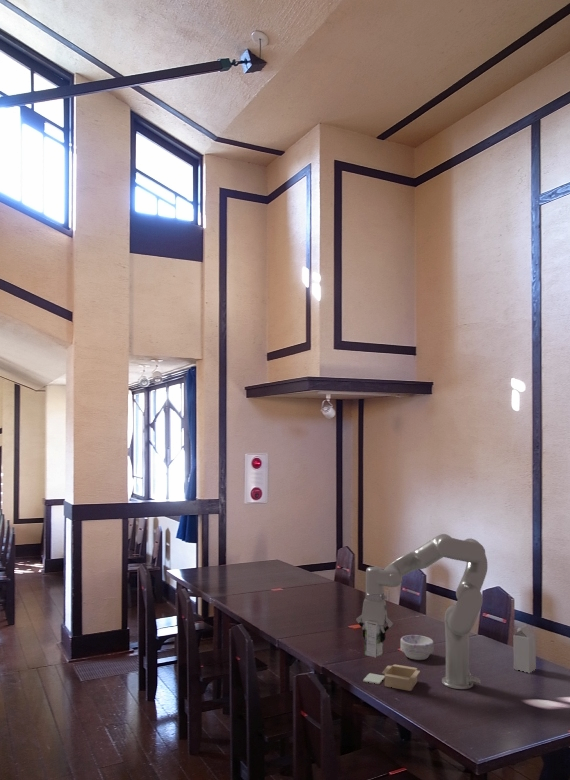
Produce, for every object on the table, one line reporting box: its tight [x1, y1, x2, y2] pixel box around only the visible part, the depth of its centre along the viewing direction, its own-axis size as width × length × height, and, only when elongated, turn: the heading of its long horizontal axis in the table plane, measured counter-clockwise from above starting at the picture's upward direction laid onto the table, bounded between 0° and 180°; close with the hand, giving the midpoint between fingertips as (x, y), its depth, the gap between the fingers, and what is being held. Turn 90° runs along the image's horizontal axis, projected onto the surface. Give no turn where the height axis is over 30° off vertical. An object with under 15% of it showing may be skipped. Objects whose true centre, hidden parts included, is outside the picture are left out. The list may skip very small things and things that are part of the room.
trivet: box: [362, 672, 385, 685], centre depth 267 cm, size 7×9×1 cm
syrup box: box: [364, 621, 384, 658], centre depth 268 cm, size 6×6×14 cm
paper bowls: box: [400, 634, 435, 661], centre depth 297 cm, size 15×15×8 cm
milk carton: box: [512, 624, 537, 674], centre depth 282 cm, size 7×7×19 cm
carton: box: [381, 664, 421, 692], centre depth 262 cm, size 14×15×5 cm
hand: (374, 639), depth 268 cm, fingers closed on syrup box, 6 cm apart
